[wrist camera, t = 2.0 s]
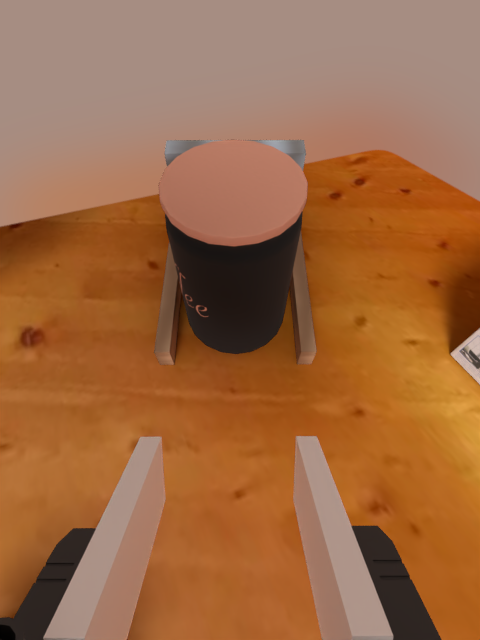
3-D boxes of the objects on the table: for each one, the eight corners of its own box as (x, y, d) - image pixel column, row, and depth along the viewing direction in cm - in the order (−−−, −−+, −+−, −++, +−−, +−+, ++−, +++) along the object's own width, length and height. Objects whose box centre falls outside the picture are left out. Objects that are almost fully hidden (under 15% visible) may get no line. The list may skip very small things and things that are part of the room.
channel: (160, 364, 37) (136, 314, 29) (179, 208, 50) (166, 140, 41) (311, 364, 37) (332, 313, 29) (292, 207, 50) (303, 140, 41)
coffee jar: (191, 280, 43) (165, 139, 28) (278, 278, 43) (300, 137, 28) (186, 359, 38) (148, 238, 22) (286, 358, 38) (318, 236, 22)
